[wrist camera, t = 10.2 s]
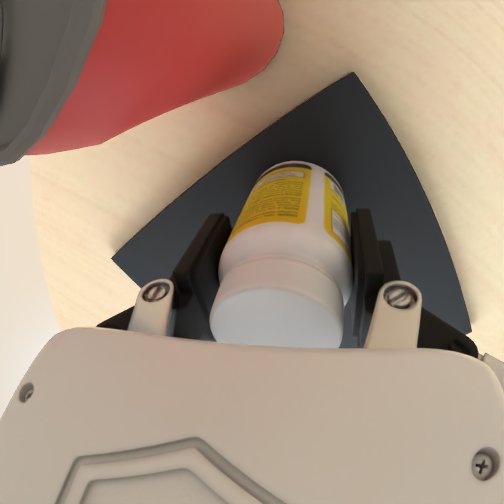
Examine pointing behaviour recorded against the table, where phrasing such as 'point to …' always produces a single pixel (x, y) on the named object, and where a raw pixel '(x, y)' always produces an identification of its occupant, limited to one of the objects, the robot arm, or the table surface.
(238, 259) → the supplement bottle
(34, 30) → the beer can
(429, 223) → the mat
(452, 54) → the table surface
